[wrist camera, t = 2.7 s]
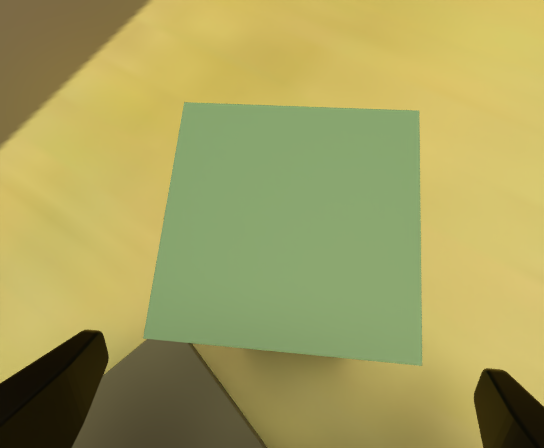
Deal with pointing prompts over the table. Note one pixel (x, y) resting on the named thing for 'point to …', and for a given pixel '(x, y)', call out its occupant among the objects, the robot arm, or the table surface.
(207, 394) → the rubber mat
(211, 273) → the teal block
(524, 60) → the table surface
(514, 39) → the table surface
